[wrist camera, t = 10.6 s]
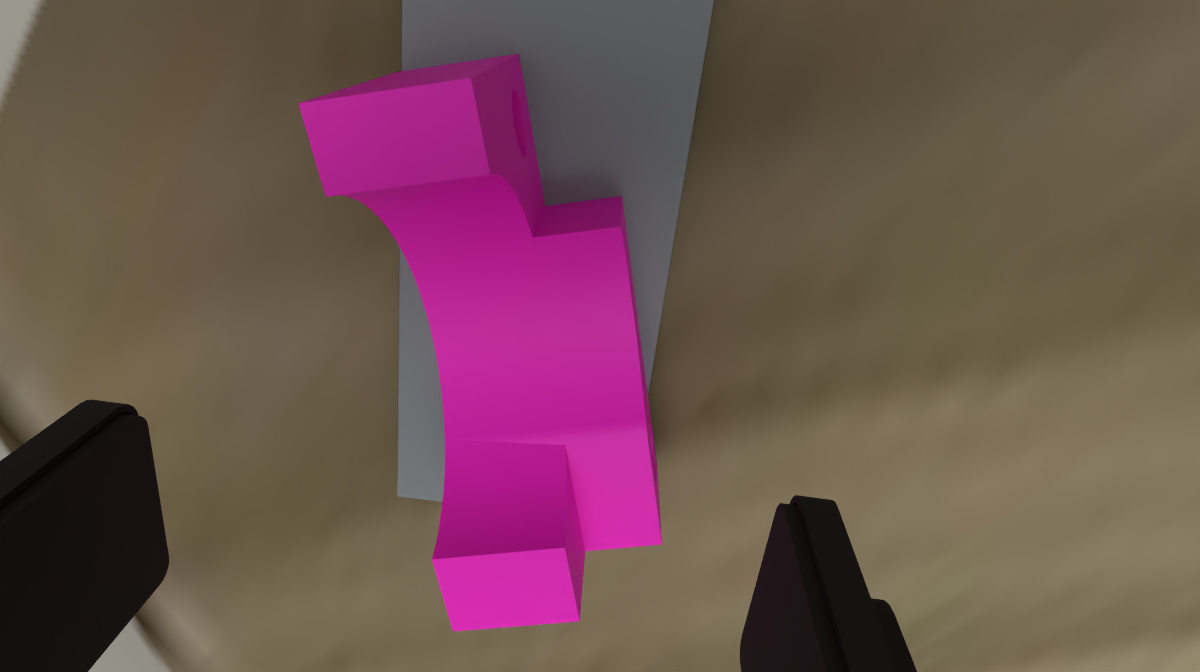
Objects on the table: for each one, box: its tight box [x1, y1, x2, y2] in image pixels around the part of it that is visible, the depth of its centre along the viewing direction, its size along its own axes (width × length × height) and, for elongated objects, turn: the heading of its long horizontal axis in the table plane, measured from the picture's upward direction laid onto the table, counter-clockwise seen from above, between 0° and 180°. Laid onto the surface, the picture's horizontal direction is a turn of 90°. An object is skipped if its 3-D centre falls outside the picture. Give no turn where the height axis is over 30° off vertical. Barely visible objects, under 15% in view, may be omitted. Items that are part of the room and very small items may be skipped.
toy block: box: [298, 54, 662, 631], centre depth 22 cm, size 15×6×8 cm, turn 8°
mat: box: [398, 0, 714, 502], centre depth 25 cm, size 9×22×1 cm, turn 173°
